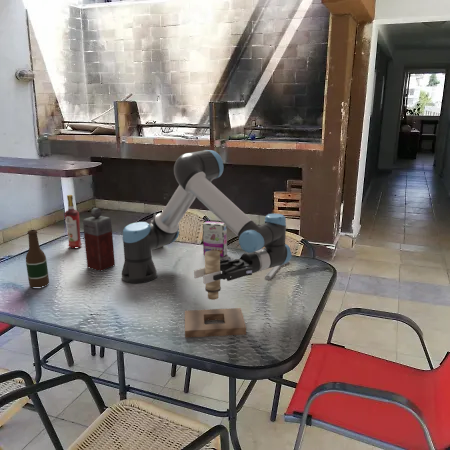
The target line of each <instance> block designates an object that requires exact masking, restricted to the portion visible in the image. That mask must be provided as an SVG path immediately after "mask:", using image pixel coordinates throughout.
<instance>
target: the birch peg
mask: <svg viewBox="0 0 450 450" xmlns="http://www.w3.org/2000/svg"><path fill="white" fill-rule="evenodd" d="M220 260H221V257H220V252H219V251H215V250H211V251H206V252H205V255H204V267H205V275H207V274H210V273H214V272H218V271H220ZM204 288H205V292H207V299H209V300H211V301H212V300H214V301H215V300H218V299H219V297H220V296H219V292H220V291H221V289H222V287H221V279H220V280H217V281H213V282H210V283H206V284H205V287H204Z"/></svg>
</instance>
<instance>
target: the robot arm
mask: <svg viewBox="0 0 450 450" xmlns="http://www.w3.org/2000/svg"><path fill="white" fill-rule="evenodd" d="M224 170H225V169H224V161H223V158H222V156H221V155H220V154H219V153H218V152H217V151H215V150H211V149H209V150H208V149H204V150H199V151H193V152H186V153H183V154H181V155H180V156H179V157H178V158H177V159H176V161H175V163H174V165H173V175H174V177H175V180H176V182H177V183H178V187H177V188H176V189H175V191H174V193H173V194H172V196H171V198H170V199H169V200H168V203H166V206H165V207H164V208H163V210H162V212H159V213H156V216H155V218H154V220H153V219H152V220H153V221H152V222H151V221H150V222H149V223H148V222H146V221H137V222H132V223H129V224H127V225H126V226H124V228H123V230H122V242H123V255H124V256H123V257H124V262H123V263H124V264H123V265H122V269H121V279H122V280H123V282H125V283H130V284H142V283H147V282H151V281H153V280H156V278H157V275H158V273H157V270H158V269H157V268H156V265H155V264H154V263H155V262H154V261H153V256H152V255H153V254H152V251H153V250H155V249H160V248H159V247H161V248H162V247H164V246H168V245H170V244H173V243H174V242H175V241H177V239H178V237H179V236H180V235H179V234H180V224H179V223H180V222H181V220H182V219H183V217H184V216H185V214H186V213H187V212H188V210H189V208H190V207H191V205H193V203H194V201H195V200H196V198H197V200H198V201H199V202H201V203H202V204H203V206H205V207H206V208H207V209H208V210H209V211H210V212H211V213H213V215H214V216H215V217H216V218H218V219H219V220H220V221H221V223H224V224H225V225H226V226H227V229H229V230H230V231H232V233H234V235H235V236H236V237H238V243H239V246H240V248H241V250H242V251H244V252H245V253H243V254H241V256H240V258H235V259H232V258H231V257H229V256H228V257H226V258H222V259H220V271H218V272H214V273H210V274H207V275H205V266H204V267H202V268H198V269H195V270H193V275H194V279H199V278H202V277H203V278H202V280H203V281H202V282H203V284H204V285H206V283H210V282H213V281H217V280H220V281H221V280H226V281H227V282H230V281H233V280H236V279H240V278H242V277H247V276H252V275H253V274H255V273H257V272H262V271H264V270H267V269H268V270H269V269H272V268H273V267H275V266H280V265H282V264H285V263H287V262H290V261H291V259H292V251H291V247H290V246H289V245H288V244H286V235H287V234H286V233H287V223H286V216H285V215H283V214H282V213H268V214H266V215H265V217H264V221H263V222H264V223H261V224H260V225H258V224H257V223H256V222H254V220H252V219H251V218H250V217H249V216H248V215H247V214H246V213H245V212H244V211H242V210H241V209H240V208H239V207H238V206H237V205H236V204H235V203H234V202H232V200H231V199H229V197H227V196H226V195H225V194H224V193H223V192H222V191H221V190H220V189H219V188H217V187H216V186H215V184H213V183H212V181H213V180H216V179H218V178H220V177H221V176H222V174H223V172H224Z"/></svg>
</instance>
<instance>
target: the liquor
mask: <svg viewBox="0 0 450 450" xmlns="http://www.w3.org/2000/svg"><path fill="white" fill-rule="evenodd" d="M66 199H67V210H66V211H65V212H64V213H63V216H64V220H65V226H66V227H65V228H66V233H67V239H68V245H67V247H69V248H70V247H71V248H70V249H73V248H75V247H79V248H81V246H82V244H83V243H82V241H81V239H82V238H81V224H80V220H81V219H80V211H78V210H77V209H75V207H74V198H73V194H68V195H66Z"/></svg>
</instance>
